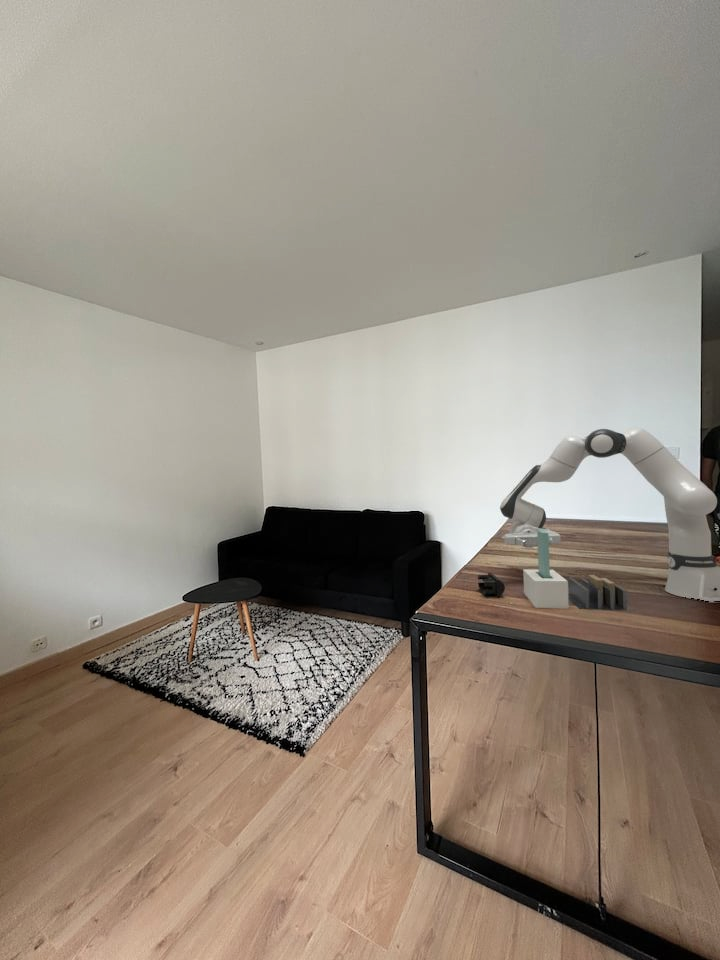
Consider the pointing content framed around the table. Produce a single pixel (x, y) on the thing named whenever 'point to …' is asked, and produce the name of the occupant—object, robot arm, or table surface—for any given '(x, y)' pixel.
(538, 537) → the tall sheet
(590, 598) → the rack
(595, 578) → the offcut tall
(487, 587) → the end cap
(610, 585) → the offcut small
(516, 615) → the table surface
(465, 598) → the table surface
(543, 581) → the holder
